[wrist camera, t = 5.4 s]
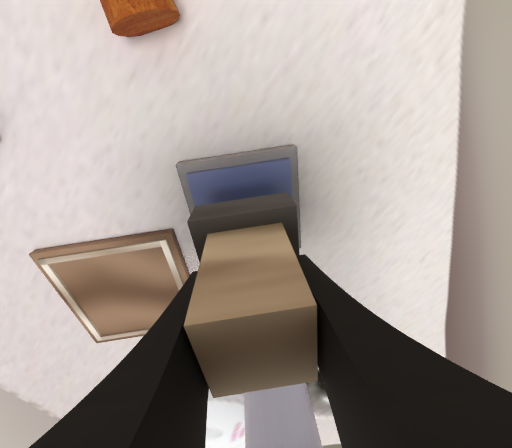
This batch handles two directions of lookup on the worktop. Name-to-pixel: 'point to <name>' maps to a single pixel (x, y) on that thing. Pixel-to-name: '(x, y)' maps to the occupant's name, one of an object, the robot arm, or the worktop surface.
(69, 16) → the worktop surface
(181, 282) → the board
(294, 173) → the ink pad
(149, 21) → the purple maraca
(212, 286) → the stamp
